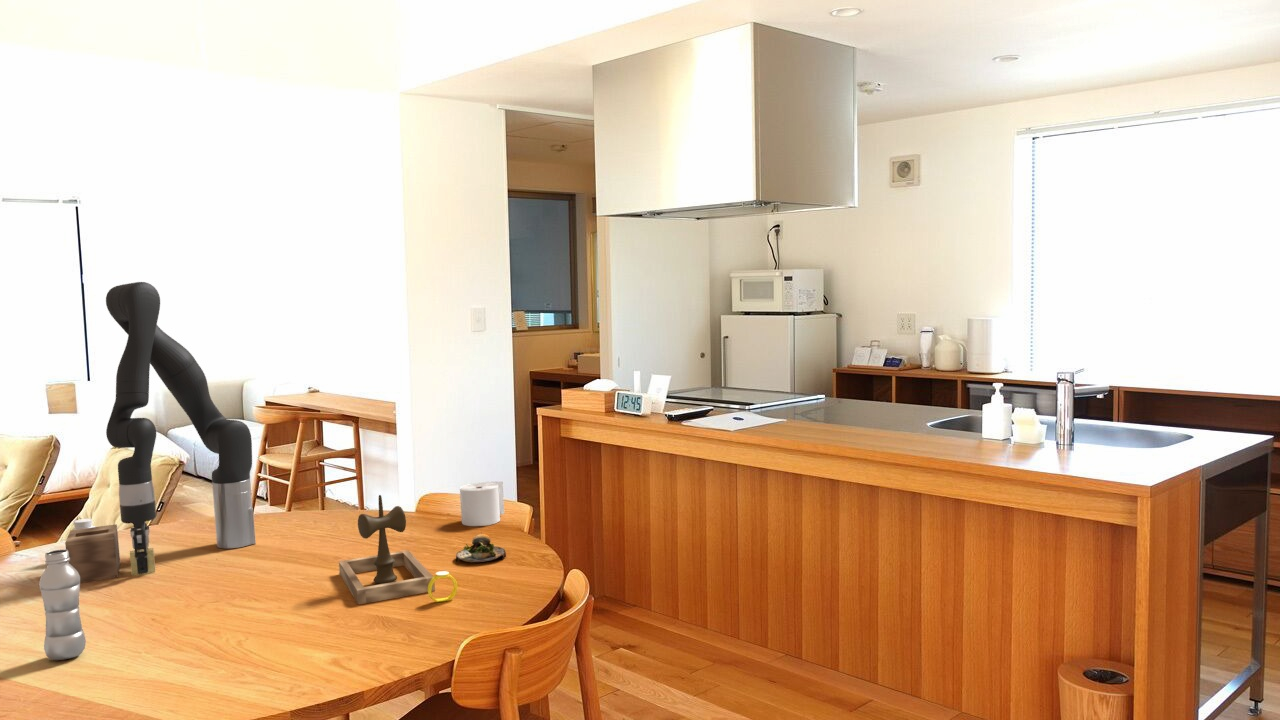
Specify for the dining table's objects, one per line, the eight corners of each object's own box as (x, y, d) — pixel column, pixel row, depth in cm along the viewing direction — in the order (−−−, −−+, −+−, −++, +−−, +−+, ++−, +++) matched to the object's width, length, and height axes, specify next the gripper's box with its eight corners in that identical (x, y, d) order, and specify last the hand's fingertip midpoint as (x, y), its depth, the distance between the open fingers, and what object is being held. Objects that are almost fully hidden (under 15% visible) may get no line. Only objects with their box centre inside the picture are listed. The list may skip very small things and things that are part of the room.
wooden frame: (409, 562, 231) (408, 550, 231) (434, 590, 209) (434, 577, 209) (339, 573, 224) (338, 561, 224) (358, 604, 202) (357, 590, 202)
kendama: (411, 580, 217) (405, 493, 216) (370, 590, 211) (364, 500, 210) (399, 574, 222) (394, 489, 220) (359, 584, 216) (353, 496, 214)
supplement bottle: (101, 559, 246) (97, 520, 245) (76, 564, 242) (72, 524, 241) (96, 555, 250) (93, 516, 249) (72, 559, 246) (68, 520, 246)
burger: (446, 564, 229) (444, 534, 229) (473, 551, 240) (471, 521, 240) (490, 568, 225) (488, 537, 224) (515, 554, 236) (513, 524, 235)
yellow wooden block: (155, 569, 234) (153, 547, 234) (155, 572, 232) (153, 550, 232) (132, 573, 232) (130, 551, 232) (131, 576, 230) (129, 553, 230)
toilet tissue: (456, 526, 264) (454, 490, 263) (470, 515, 276) (468, 481, 275) (493, 526, 262) (491, 490, 262) (506, 515, 274) (504, 481, 273)
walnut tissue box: (120, 563, 241) (116, 524, 240) (117, 577, 229) (114, 535, 228) (74, 570, 237) (70, 530, 236) (69, 584, 225) (65, 542, 224)
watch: (431, 605, 200) (429, 577, 199) (427, 602, 202) (425, 574, 201) (459, 599, 203) (457, 571, 202) (454, 596, 205) (453, 568, 204)
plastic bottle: (56, 652, 182) (46, 548, 180) (93, 649, 182) (84, 546, 180) (38, 665, 175) (27, 558, 174) (76, 663, 176) (66, 555, 174)
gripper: (154, 504, 226) (160, 575, 227) (155, 493, 239) (161, 560, 240) (118, 508, 223) (124, 581, 224) (121, 497, 235) (127, 565, 237)
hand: (143, 570), depth 232 cm, fingers open, 4 cm apart
